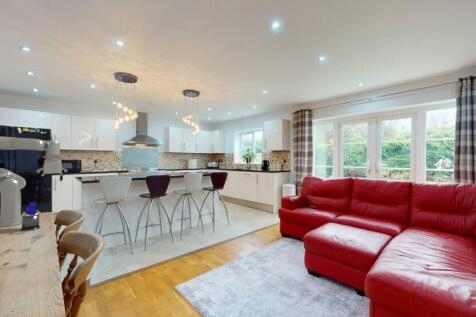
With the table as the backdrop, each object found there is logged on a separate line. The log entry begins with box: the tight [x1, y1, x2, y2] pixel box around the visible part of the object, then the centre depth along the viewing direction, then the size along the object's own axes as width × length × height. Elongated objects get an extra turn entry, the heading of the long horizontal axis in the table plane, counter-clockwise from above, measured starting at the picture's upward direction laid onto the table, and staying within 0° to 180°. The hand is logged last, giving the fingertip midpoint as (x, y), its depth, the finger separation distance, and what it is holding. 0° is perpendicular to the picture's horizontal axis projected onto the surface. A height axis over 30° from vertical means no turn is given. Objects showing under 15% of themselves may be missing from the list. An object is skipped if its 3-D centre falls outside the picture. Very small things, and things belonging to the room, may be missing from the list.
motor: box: [20, 209, 41, 232], centre depth 141 cm, size 9×9×11 cm
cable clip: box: [25, 201, 37, 215], centre depth 141 cm, size 12×4×6 cm, turn 42°
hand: (52, 181), depth 160 cm, fingers open, 9 cm apart
